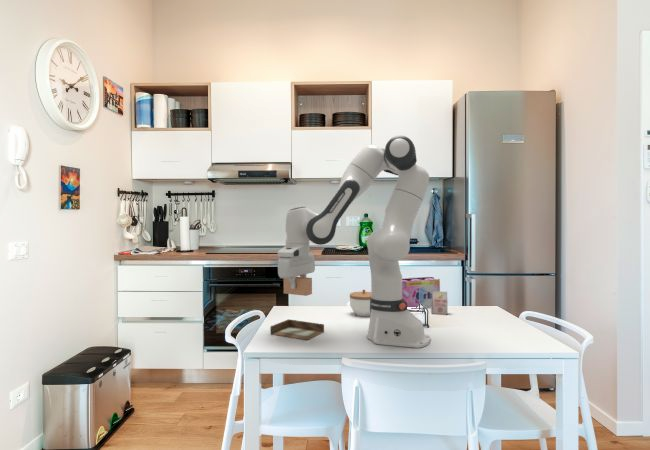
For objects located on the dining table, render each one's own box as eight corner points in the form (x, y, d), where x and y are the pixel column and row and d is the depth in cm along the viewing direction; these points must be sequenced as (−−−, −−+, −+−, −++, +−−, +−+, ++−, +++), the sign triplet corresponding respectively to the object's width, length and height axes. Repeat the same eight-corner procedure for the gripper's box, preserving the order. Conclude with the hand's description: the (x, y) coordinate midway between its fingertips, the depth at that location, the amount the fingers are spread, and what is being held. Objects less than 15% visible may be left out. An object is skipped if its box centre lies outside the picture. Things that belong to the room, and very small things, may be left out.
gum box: (433, 303, 206) (433, 276, 206) (442, 306, 198) (443, 278, 198) (390, 306, 198) (390, 278, 198) (398, 310, 191) (398, 281, 191)
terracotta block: (289, 291, 158) (289, 276, 157) (312, 293, 153) (311, 277, 153) (283, 293, 154) (283, 277, 154) (306, 295, 149) (306, 279, 149)
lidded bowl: (349, 311, 189) (349, 287, 189) (376, 311, 189) (376, 287, 188) (349, 317, 177) (350, 292, 176) (379, 318, 176) (379, 292, 176)
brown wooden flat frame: (324, 332, 155) (324, 324, 155) (307, 340, 144) (307, 332, 144) (288, 326, 162) (288, 319, 162) (270, 334, 152) (270, 326, 152)
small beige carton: (431, 312, 187) (431, 290, 187) (446, 313, 185) (446, 291, 185) (431, 314, 183) (431, 292, 183) (447, 315, 182) (447, 292, 182)
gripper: (305, 248, 164) (305, 282, 164) (274, 252, 146) (274, 291, 146) (318, 248, 161) (318, 284, 161) (289, 253, 143) (289, 292, 143)
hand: (297, 287), depth 153 cm, fingers closed on terracotta block, 4 cm apart
